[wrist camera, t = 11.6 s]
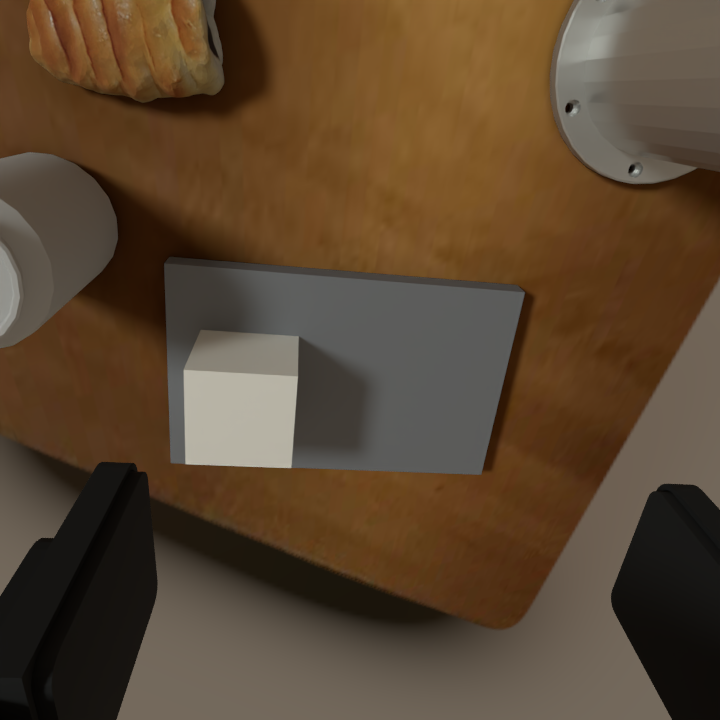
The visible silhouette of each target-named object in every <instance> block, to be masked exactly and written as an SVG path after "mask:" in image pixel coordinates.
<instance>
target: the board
mask: <svg viewBox="0 0 720 720" xmlns="http://www.w3.org/2000/svg"><path fill="white" fill-rule="evenodd" d="M164 275H165V304H166V334H167V363H168V393H169V422H170V452H171V463H184V464H185V417H184V368H185V365H186V363H187V361H188V358H189V356H190V354H191V351H192V349H193V347H194V344H195V342H196V340H197V337H198V335H199V333H200V330H212V331H227V332H242V333H257V334H272V335H287V336H299V346H298V382H297V396H296V410H295V424H294V437H293V451H292V465H291V468H317V469H344V470H371V471H398V472H424V473H451V474H478V475H481V473H482V469H483V465H484V461H485V457H486V452H487V448H488V444H489V440H490V436H491V432H492V428H493V423H494V419H495V415H496V411H497V407H498V403H499V398H500V394H501V390H502V386H503V382H504V378H505V374H506V369H507V365H508V361H509V357H510V353H511V349H512V344H513V340H514V336H515V332H516V328H517V324H518V320H519V315H520V311H521V307H522V303H523V299H524V295H525V292H524V291H523V290H522V289H521V288H520V287H519V286H517V285H510V284H497V283H485V282H473V281H461V280H449V279H436V278H424V277H412V276H400V275H387V274H375V273H363V272H351V271H339V270H326V269H314V268H302V267H290V266H277V265H265V264H253V263H241V262H229V261H216V260H204V259H192V258H180V257H169V258H168V259H167V260H166V262H165V263H164Z"/></svg>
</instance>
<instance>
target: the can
mask: <svg viewBox="0 0 720 720" xmlns="http://www.w3.org/2000/svg"><path fill="white" fill-rule="evenodd" d="M117 240H118V230H117V218H116V215H115V212H114V210H113V207H112V205H111V202H110V200H109V197H108V196H107V195H106V193H105V192H104V191H103V189H102V188H101V187H100V186H99V184H98V183H97V182H96V180H95V179H94V178H93V177H92V176H90V175H89V174H88V173H86V172H85V171H84V170H82V169H81V168H80V167H78V166H77V165H76V164H74V163H72V162H69V161H67V160H65V159H62V158H60V157H57V156H55V155H52V154H42V153H32V152H28V153H23V154H19V155H15V156H10V157H6V158H1V159H0V348H3V347H8V346H12V345H15V344H16V343H18V342H19V341H21V340H23V339H24V338H26V337H27V336H29V335H31V334H32V333H34V332H35V331H36V330H37V329H38V328H40V327H41V326H42V325H43V324H44V323H45V322H46V321H47V320H48V319H50V318H51V317H52V316H53V315H54V314H55V313H56V312H57V311H58V310H60V309H61V308H62V307H63V306H64V305H65V304H66V303H67V302H68V301H70V300H71V299H72V298H73V297H74V296H75V295H76V294H77V293H78V292H80V291H81V290H82V289H83V288H84V287H85V286H86V285H87V284H88V283H90V282H91V281H92V280H93V279H94V278H95V277H96V276H97V275H98V274H100V273H101V272H102V271H103V269H104V268H105V267H106V265H107V264H108V263H109V261H110V260H111V259H112V257H113V255H114V251H115V247H116V244H117Z"/></svg>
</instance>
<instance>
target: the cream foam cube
mask: <svg viewBox="0 0 720 720" xmlns="http://www.w3.org/2000/svg"><path fill="white" fill-rule="evenodd" d="M298 346H299V336H287V335H272V334H257V333H242V332H227V331H212V330H200V333H199V335H198V337H197V340H196V342H195V344H194V347H193V349H192V351H191V354H190V356H189V358H188V361H187V363H186V365H185V368H184V417H185V464H194V465H221V466H248V467H275V468H291V465H292V451H293V437H294V424H295V410H296V396H297V382H298Z"/></svg>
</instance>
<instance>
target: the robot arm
mask: <svg viewBox="0 0 720 720" xmlns="http://www.w3.org/2000/svg"><path fill="white" fill-rule="evenodd" d="M550 99H551V104H552V109H553V115H554V119H555V122H556V124H557V127H558V129H559V132H560V134H561V137H562V139H563V140H564V142H565V143H566V145H567V146H568V148H569V149H570V151H571V152H572V154H573V155H574V156H575V157H576V158H578V159H579V160H580V161H581V162H582V163H583V164H584V165H585V166H586V167H588V168H589V169H591V170H593V171H595V172H596V173H598V174H600V175H601V176H605V177H608V178H611V179H613V180H616V181H621V182H625V183H630V184H653V183H658V182H663V181H667V180H672V179H675V178H677V177H680V176H682V175H684V174H687V173H689V172H691V171H694V170H695V169H697V168H702V169H707V170H712V171H717V172H720V0H574V1H573V3H572V5H571V7H570V9H569V11H568V13H567V15H566V17H565V19H564V21H563V23H562V25H561V28H560V31H559V34H558V38H557V41H556V44H555V47H554V51H553V57H552V64H551V70H550ZM567 103H569V105H570V109H569V111H568V112H565V107H566V105H567ZM630 166H631V170H630V171H629V172H628V170H629V167H630ZM156 594H157V571H156V561H155V552H154V540H153V529H152V519H151V508H150V497H149V486H148V477H147V474H146V472H137V467H136V465H135V464H134V463H115V462H101V463H99V464H98V465H97V467H96V468H95V470H94V472H93V473H92V475H91V477H90V478H89V480H88V482H87V483H86V485H85V487H84V489H83V490H82V492H81V494H80V495H79V497H78V499H77V500H76V502H75V504H74V505H73V507H72V509H71V511H70V512H69V514H68V515H67V517H66V519H65V520H64V522H63V524H62V525H61V527H60V529H59V530H58V532H57V534H56V536H55V537H54V538H41V539H39V540H38V541H36V542H35V543H34V545H33V546H32V547H31V549H30V550H29V552H28V553H27V555H26V556H25V558H24V559H23V561H22V563H21V564H20V566H19V568H18V569H17V571H16V572H15V574H14V575H13V577H12V579H11V580H10V582H9V583H8V585H7V587H6V588H5V590H4V591H3V593H2V594H1V596H0V720H116V719H117V716H118V713H119V710H120V707H121V704H122V701H123V698H124V695H125V692H126V688H127V686H128V683H129V679H130V676H131V673H132V670H133V667H134V664H135V661H136V658H137V655H138V652H139V649H140V646H141V643H142V640H143V637H144V634H145V631H146V627H147V624H148V622H149V619H150V616H151V613H152V609H153V606H154V603H155V599H156ZM611 602H612V607H613V610H614V612H615V614H616V616H617V618H618V620H619V622H620V624H621V625H622V627H623V629H624V631H625V633H626V635H627V637H628V639H629V640H630V642H631V644H632V646H633V648H634V650H635V652H636V653H637V655H638V657H639V659H640V661H641V663H642V664H643V666H644V668H645V670H646V672H647V674H648V676H649V678H650V679H651V681H652V683H653V685H654V687H655V689H656V690H657V692H658V694H659V696H660V698H661V700H662V702H663V703H664V705H665V707H666V709H667V711H668V713H669V715H670V716H671V718H672V720H720V510H719V509H718V507H717V506H716V505H715V504H714V503H713V502H712V501H711V500H710V499H709V498H708V496H707V495H706V494H705V493H704V492H703V491H702V490H701V489H700V488H699V487H697V486H695V485H683V484H663V485H661V486H660V487H659V488H658V489H657V491H654V492H652V493H651V494H650V495H649V497H648V500H647V502H646V505H645V507H644V510H643V512H642V515H641V518H640V520H639V523H638V525H637V528H636V531H635V533H634V536H633V538H632V541H631V543H630V546H629V548H628V551H627V554H626V556H625V559H624V561H623V564H622V566H621V569H620V572H619V574H618V577H617V580H616V582H615V585H614V587H613V590H612V593H611Z"/></svg>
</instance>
